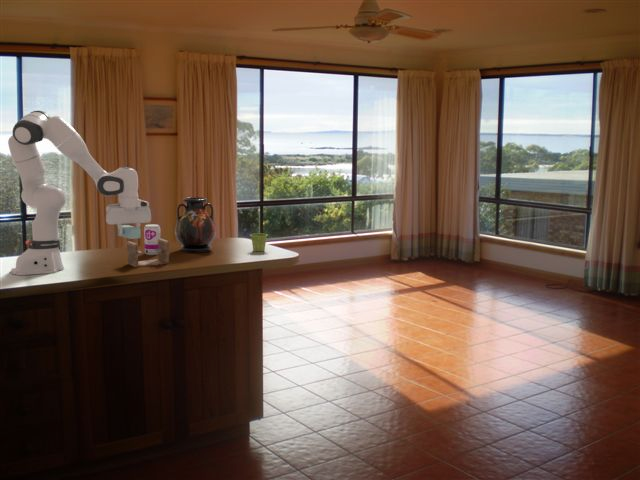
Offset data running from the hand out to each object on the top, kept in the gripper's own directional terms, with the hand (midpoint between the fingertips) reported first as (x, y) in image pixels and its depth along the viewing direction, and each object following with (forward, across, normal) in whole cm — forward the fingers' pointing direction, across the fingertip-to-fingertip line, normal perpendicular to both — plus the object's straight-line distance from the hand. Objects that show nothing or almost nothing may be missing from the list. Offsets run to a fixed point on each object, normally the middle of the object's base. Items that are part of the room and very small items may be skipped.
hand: (129, 233), depth 315 cm
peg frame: (+17, +14, +11) cm, 24 cm away
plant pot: (+16, +76, +12) cm, 79 cm away
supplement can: (+17, +26, +35) cm, 46 cm away
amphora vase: (+17, +49, +31) cm, 60 cm away
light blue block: (+2, 0, 0) cm, 2 cm away
